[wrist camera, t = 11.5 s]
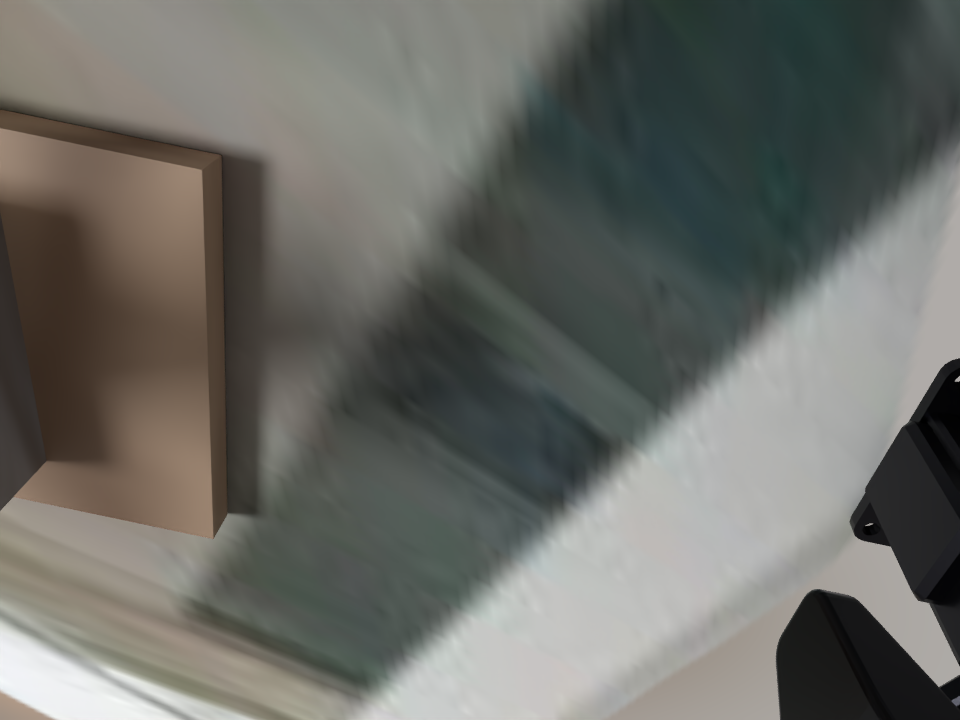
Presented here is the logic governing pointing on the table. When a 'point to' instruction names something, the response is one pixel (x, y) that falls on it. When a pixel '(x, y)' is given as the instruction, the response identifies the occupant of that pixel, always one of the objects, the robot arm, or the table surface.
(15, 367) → the jig board
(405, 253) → the table surface
